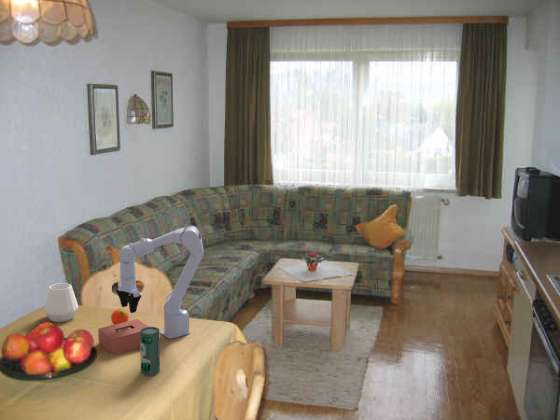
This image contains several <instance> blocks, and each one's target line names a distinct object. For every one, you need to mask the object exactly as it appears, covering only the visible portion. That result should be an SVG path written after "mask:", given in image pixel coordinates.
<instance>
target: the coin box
mask: <svg viewBox="0 0 560 420" xmlns="http://www.w3.org/2000/svg"><path fill="white" fill-rule="evenodd" d="M129 327H130V328H131V329H130V330H126V331H122V332H117V330H121V329H125V328H129ZM145 327H149V326H148V325H147V324H145V323H144V322H143V321H141V320H140V319H138V318H137V319H133V320H128V321H127V322H123V323H119V324H115V325H114V324H112V325H111V324H110V325H107V326H103V327H99V328H98V330H97V333H98V344H99V345H100V346H101V347H102V348H103V349H105V350H106V351H107V352H109V354H111V355H115V354H119V353H123V352H126V351H130V350H133V349H137V348H140V331H141V329H143V328H145Z"/></svg>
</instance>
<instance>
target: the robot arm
mask: <svg viewBox="0 0 560 420" xmlns="http://www.w3.org/2000/svg"><path fill="white" fill-rule="evenodd" d="M171 243H176V244H179V245H181V244H183V246H185V247H186V248H187V250H188V251H189V253H190V254H189V257H188V259H187V261H186V263H185V265H184V268H183V269H182V271H181V273H180V276H179V278H178V280H177V281H176V284H175V286H174V288H173V290H172V292H170V293H169V294H168V295H167V296H166V298H165V299H166V300H165V303H164V305H163V311H164V312H163V324H164V325H163V326H164V327H163V330H161V331H159V334H161V335H163V336H164V337H165V338H167V339H169V340H171V339H175V338H179V337H182V336H187V335H189V334H191V331H190V315H189V313H188V311H187V310H186V309H182V308H181V306H182V302H183V298H184V297H185V294H186V292H187V290H188V287H189V285H190V283H191V281H192V280H193V277H194V275H195V273H196V271H197V268H198V267H199V265H200V263H201V261H202V259H203V257H204V251H205V250H204V245H203V238H202V234H201V232H200V230H199V229H198V227H197V226H195V225H187V226H186V227H181V228H178V229H175V230H173V231H170V232H168V233H166V234H163V235H161V236H158V237H156V238H154V239H150V238H146V237H143V238H141V239H140V240H139V241H136V242H130V243H129V244H126V245H123V246H122V248H121V249H120V250H119V252H118V255H117V256H118V259H119V264H120V265H119V275H120V276H119V277H120V281H119V282H117V287H118V288H117V289H115V293H116V294H117V296H118V298H119V303H120V304H121V307H122V308H124V307H128V308H129V313H131V314H133V313H137V310H138V306H139V302H140V301H141V299H142V295H141V294H140V291H139V290H138V288H137V286H136V285H137V284H136V283H137V282H136V280H137V279H136V260H135V259H136V258H141V257H143V256H145V255H148V254H151V253H154V250H155V249H156V248H158V247H161V246H164V245H168V244H171Z"/></svg>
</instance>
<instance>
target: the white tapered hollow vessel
mask: <svg viewBox="0 0 560 420" xmlns="http://www.w3.org/2000/svg"><path fill="white" fill-rule="evenodd" d="M43 308H44V310H43V311H44V313H45V315H46V316H47V317H48V318H49V320H50V321H52V322H56V323H62V322H66V321H70V320H72V319H74V317H75V315H76V313H77V312H78V309H79V303H78V301H77V298H76V296H75V292H74V289H73V285H71V283H67V282H61V283H60V282H59V283H53V284H51V285H50V286H49V287H48V291H47V294H46V299H45V303H44V307H43Z"/></svg>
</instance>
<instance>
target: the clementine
mask: <svg viewBox="0 0 560 420" xmlns="http://www.w3.org/2000/svg"><path fill="white" fill-rule="evenodd" d="M129 317H130V316H129V313H128V312H127V310H125V309H123V308H118V309H115V310H114V311H113V312H112V314H111V316H110V319H111V322H112V325H115V324H119V323H123V322H127V321H129V319H130V318H129Z"/></svg>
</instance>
